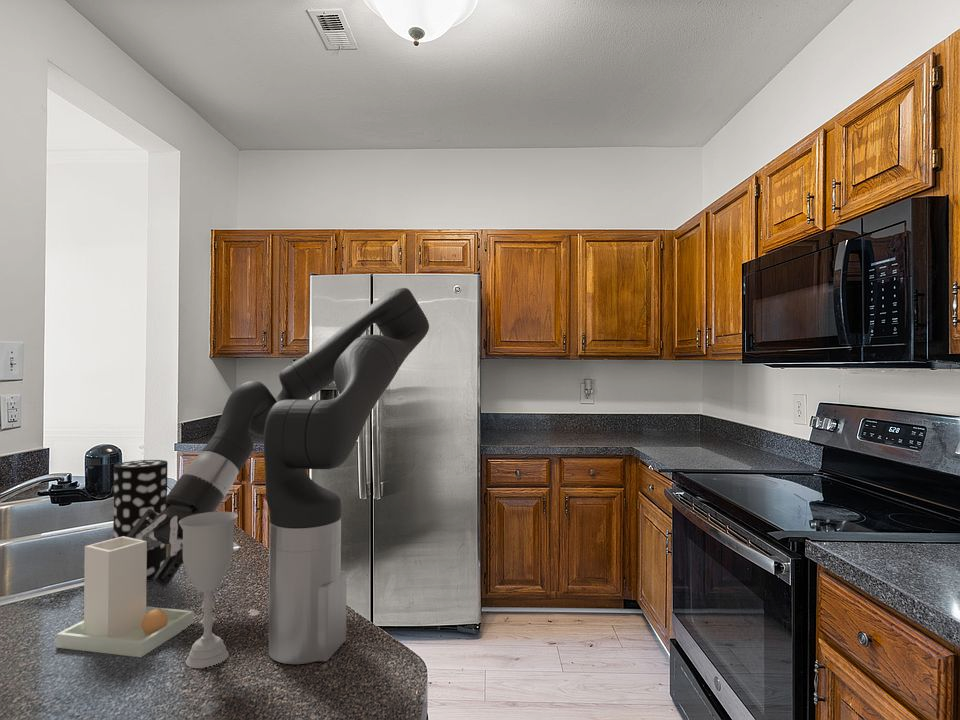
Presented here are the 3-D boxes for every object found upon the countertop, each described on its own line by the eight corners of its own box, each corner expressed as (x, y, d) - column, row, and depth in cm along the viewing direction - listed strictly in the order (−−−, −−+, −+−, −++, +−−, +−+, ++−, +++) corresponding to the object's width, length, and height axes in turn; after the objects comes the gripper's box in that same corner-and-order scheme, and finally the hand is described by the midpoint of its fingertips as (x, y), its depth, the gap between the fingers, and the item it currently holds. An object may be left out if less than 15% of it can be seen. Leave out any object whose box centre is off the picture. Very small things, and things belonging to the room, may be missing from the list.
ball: (174, 628, 82) (172, 605, 83) (157, 638, 79) (155, 614, 79) (154, 628, 83) (152, 605, 83) (136, 639, 80) (134, 615, 80)
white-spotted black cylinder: (132, 566, 110) (133, 459, 110) (175, 567, 109) (176, 460, 109) (101, 583, 101) (103, 467, 101) (148, 584, 101) (150, 467, 101)
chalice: (212, 675, 71) (214, 527, 72) (163, 669, 73) (165, 524, 73) (247, 647, 79) (249, 513, 79) (202, 642, 80) (204, 510, 80)
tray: (193, 623, 86) (193, 611, 86) (140, 657, 76) (140, 643, 76) (117, 615, 88) (117, 603, 88) (56, 647, 78) (56, 633, 78)
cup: (145, 625, 84) (146, 541, 84) (107, 641, 79) (108, 551, 79) (122, 618, 86) (123, 536, 86) (83, 633, 81) (84, 546, 81)
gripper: (248, 502, 96) (188, 599, 86) (188, 494, 102) (124, 583, 92) (221, 476, 91) (153, 575, 81) (159, 469, 97) (89, 560, 87)
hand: (138, 579), depth 86 cm, fingers open, 8 cm apart
